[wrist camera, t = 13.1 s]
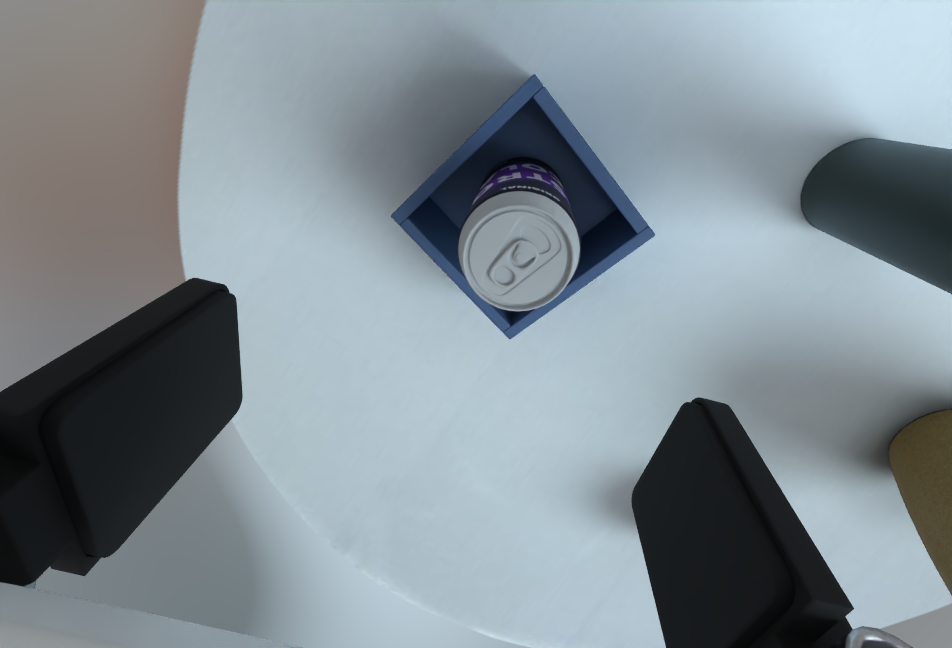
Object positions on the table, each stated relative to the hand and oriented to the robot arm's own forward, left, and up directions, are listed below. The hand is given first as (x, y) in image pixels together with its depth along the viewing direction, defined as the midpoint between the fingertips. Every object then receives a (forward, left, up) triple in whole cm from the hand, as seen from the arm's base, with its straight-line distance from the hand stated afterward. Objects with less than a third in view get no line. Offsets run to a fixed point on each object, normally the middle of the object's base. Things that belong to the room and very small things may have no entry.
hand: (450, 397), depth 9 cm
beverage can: (+2, 0, -23) cm, 23 cm away
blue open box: (+2, 0, -24) cm, 24 cm away
